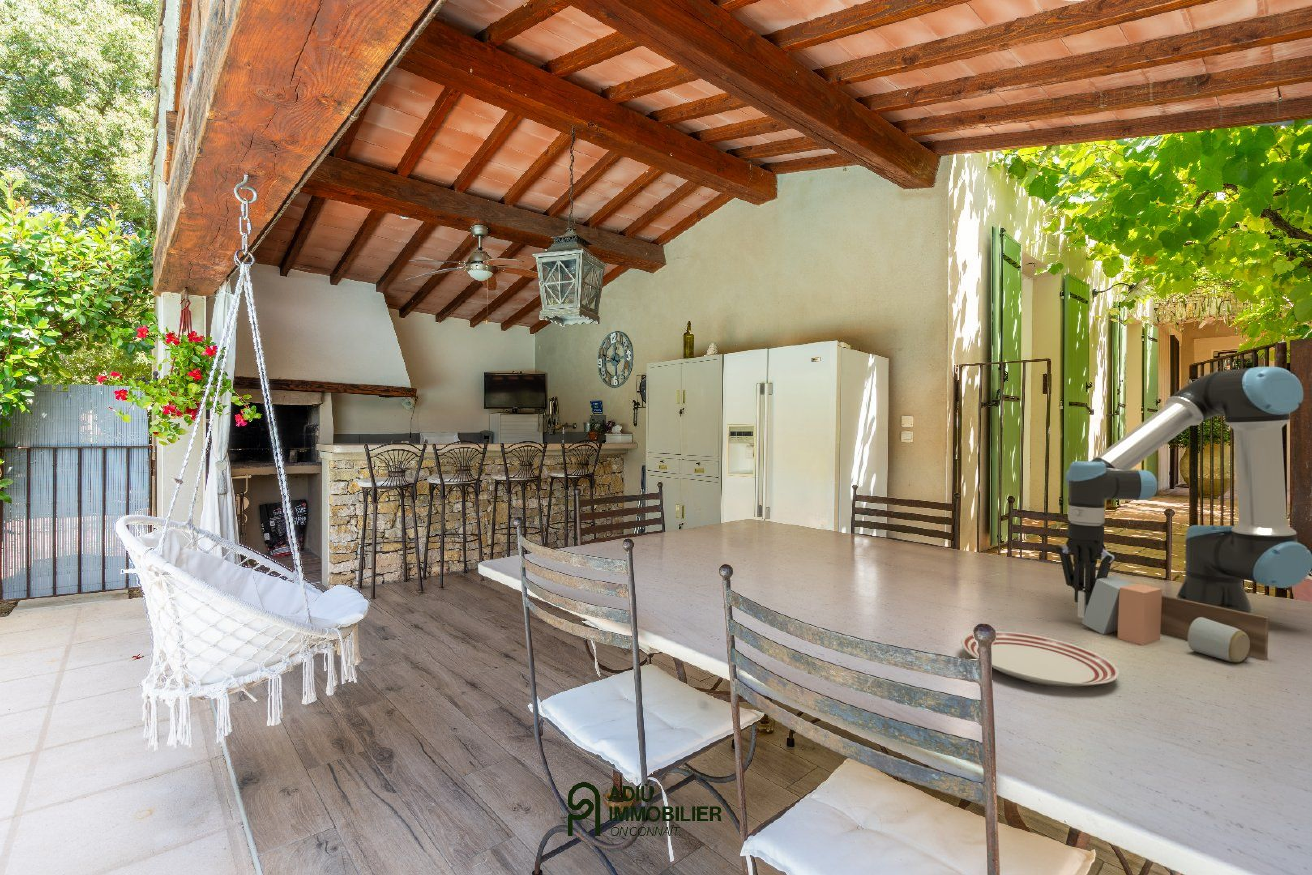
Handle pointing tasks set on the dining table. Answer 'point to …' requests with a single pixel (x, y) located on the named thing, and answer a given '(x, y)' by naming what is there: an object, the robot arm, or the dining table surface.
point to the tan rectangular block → (1139, 614)
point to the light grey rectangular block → (1104, 605)
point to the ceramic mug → (1218, 640)
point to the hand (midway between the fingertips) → (1083, 616)
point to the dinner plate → (1045, 660)
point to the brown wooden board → (1184, 612)
